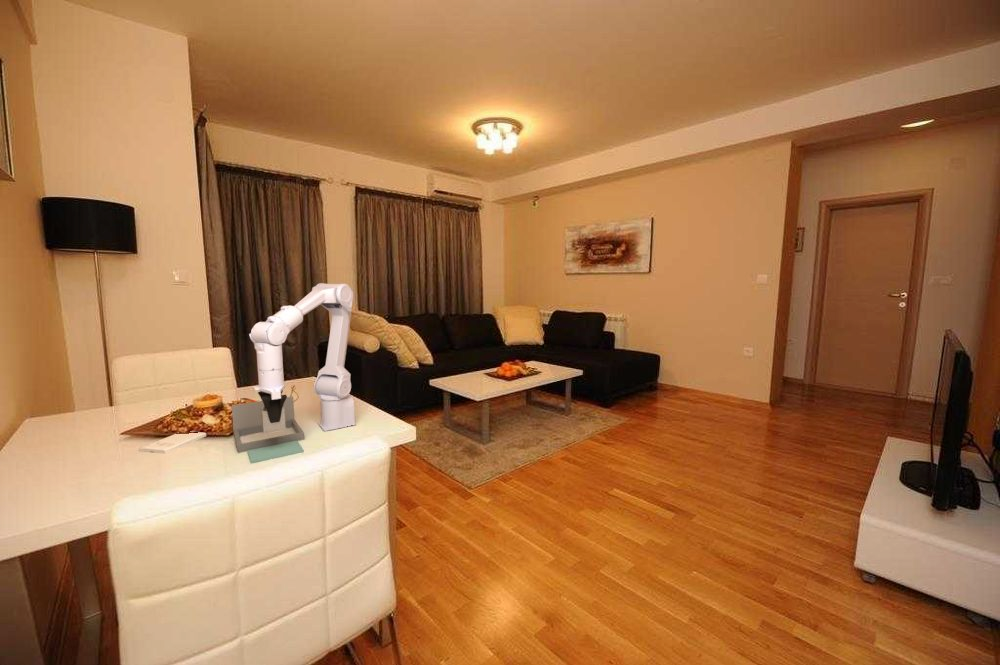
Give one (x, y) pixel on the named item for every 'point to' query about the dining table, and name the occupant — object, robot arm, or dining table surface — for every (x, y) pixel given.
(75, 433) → the dining table surface
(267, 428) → the block
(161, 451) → the external hard drive
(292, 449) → the module mat
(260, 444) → the equipment case
